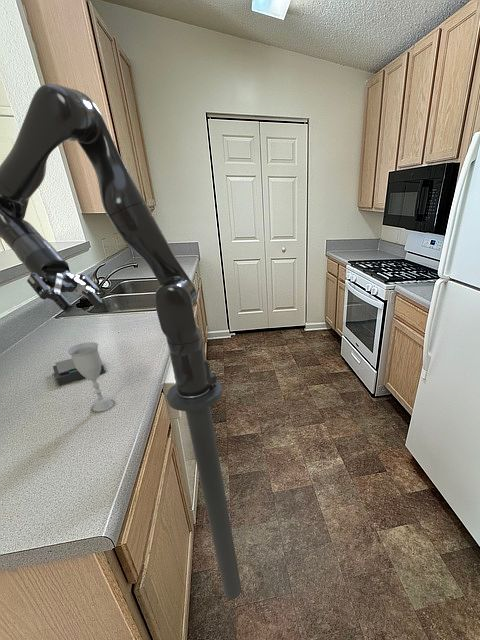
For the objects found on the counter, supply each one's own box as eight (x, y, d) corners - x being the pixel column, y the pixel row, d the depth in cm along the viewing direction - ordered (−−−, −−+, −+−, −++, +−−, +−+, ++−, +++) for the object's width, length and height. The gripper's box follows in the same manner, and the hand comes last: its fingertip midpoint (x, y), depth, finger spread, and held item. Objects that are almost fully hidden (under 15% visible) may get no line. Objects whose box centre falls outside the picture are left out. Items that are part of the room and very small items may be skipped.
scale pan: (92, 354, 116) (92, 353, 116) (98, 363, 110) (97, 361, 110) (55, 364, 110) (55, 362, 110) (59, 374, 104) (58, 372, 103)
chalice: (96, 399, 96) (76, 342, 88) (120, 397, 96) (102, 341, 88) (84, 414, 89) (61, 354, 81) (110, 412, 90) (90, 353, 82)
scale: (98, 361, 118) (95, 353, 117) (105, 372, 111) (102, 363, 109) (55, 372, 111) (51, 364, 109) (59, 385, 103) (55, 376, 102)
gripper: (15, 243, 72) (65, 299, 72) (74, 249, 85) (116, 295, 85) (2, 268, 75) (50, 322, 75) (61, 270, 88) (102, 315, 88)
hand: (85, 308), depth 80 cm, fingers open, 8 cm apart
